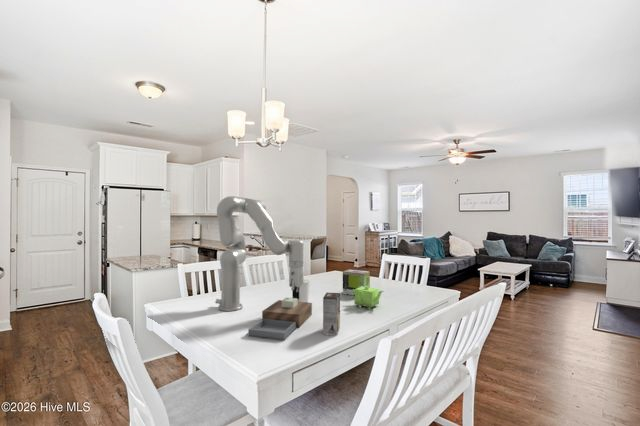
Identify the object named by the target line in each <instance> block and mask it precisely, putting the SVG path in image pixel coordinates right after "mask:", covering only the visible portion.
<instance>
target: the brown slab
mask: <svg viewBox="0 0 640 426" xmlns="http://www.w3.org/2000/svg"><path fill="white" fill-rule="evenodd" d="M282 300H283V299H278V300H276V301H275V302H273V303H272V304H270V306H268V307H266V308H265V309H263V310H262V311H261V314H262V315H261V316H262V317H261V320H262V319H271V320H280V321H290V322H296V329H297V328H300V327H302V326H303V325H304V324H305V322H306V321H307V320H308V319H310V317H311V316H312V310H313V308H312V307H313V303H312V302H297V305H296V306H295V307H294V308H289V307H282Z"/></svg>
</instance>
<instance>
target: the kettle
mask: <svg viewBox="0 0 640 426" xmlns="http://www.w3.org/2000/svg"><path fill="white" fill-rule="evenodd" d="M351 292H352V293H353V294H354V295H355V296H354V295H353V296H354V305H358V306H362V307H366V309H367V308H373V306H374V307H376V306H378V305H379V304H380V302H379V301H380V298H381V294H382V293H383V292H385V291H384V290H380V289H379V288H377V287H376V288H375V287H371V286H370V287H369V286H365V287H363V286H362V287H359V288H357V289H355V290H354V289H353V290H352V291H351Z"/></svg>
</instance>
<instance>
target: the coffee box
mask: <svg viewBox="0 0 640 426" xmlns="http://www.w3.org/2000/svg"><path fill="white" fill-rule="evenodd" d="M322 298H323V299H322V301H323V302H322V335H325V336H327V335H328V336H336V335H337V336H338V334H339V331H340V328H341V326H340V325H341V322H340V321H341V293H340V292H326V293H325V294H324V295H323V297H322Z"/></svg>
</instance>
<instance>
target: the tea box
mask: <svg viewBox="0 0 640 426" xmlns="http://www.w3.org/2000/svg"><path fill="white" fill-rule="evenodd" d="M370 275H371V273H370V271H369V270H368V271H367V270H358V269H346V270H342V294H343V295H347V294H348V295H349V296H354V294H353V293H352V292H351V291H352V290H353V289H354V290H355V289H357V288H359V287H362V286H363V287H365V286H369V287H370V288H371V286H370V285H371V276H370Z"/></svg>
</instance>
